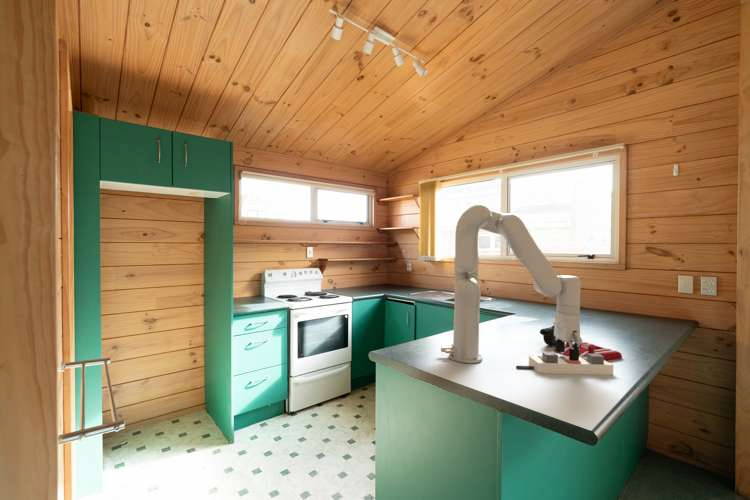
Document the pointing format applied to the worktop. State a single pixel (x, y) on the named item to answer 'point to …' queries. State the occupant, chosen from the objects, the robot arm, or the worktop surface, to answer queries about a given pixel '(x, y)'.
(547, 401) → the worktop surface
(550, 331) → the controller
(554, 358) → the button
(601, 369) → the button panel
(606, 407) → the worktop surface
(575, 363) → the button
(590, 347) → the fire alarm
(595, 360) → the button
